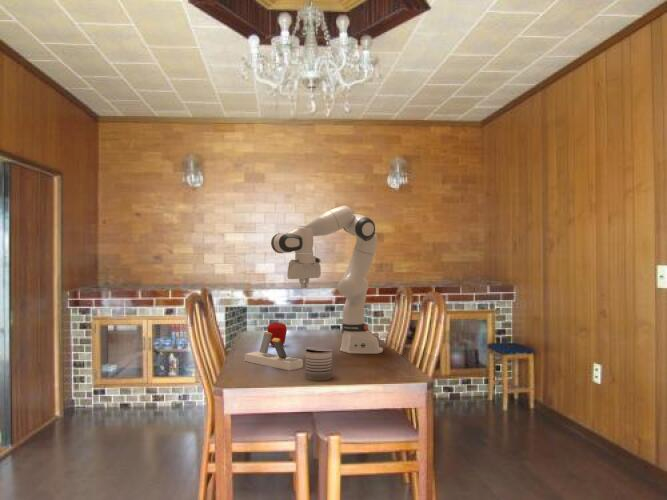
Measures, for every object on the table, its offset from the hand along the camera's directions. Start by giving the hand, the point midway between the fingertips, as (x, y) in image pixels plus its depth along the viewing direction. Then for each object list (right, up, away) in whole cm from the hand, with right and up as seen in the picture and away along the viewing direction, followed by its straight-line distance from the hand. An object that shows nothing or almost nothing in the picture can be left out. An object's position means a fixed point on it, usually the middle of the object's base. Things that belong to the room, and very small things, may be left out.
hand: (304, 288), depth 255 cm
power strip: (-14, -34, -14) cm, 39 cm away
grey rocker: (-19, -31, -10) cm, 37 cm away
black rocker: (-8, -31, -19) cm, 37 cm away
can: (+8, -34, -38) cm, 52 cm away
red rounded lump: (-17, -34, +32) cm, 50 cm away
